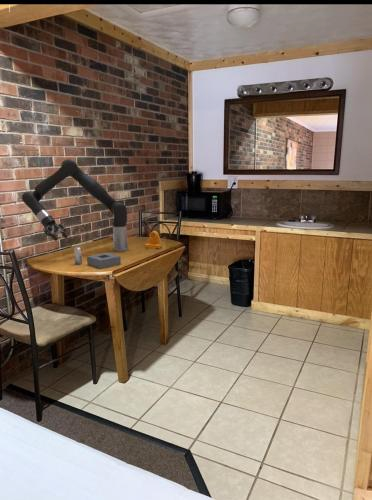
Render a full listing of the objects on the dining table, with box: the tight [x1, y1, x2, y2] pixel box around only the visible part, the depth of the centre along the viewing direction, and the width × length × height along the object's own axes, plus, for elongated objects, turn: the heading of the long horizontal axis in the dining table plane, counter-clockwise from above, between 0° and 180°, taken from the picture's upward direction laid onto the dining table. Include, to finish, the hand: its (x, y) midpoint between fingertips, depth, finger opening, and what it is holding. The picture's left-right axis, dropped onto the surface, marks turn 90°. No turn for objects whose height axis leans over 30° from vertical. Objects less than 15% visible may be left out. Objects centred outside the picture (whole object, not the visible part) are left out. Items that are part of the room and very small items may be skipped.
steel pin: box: [73, 246, 83, 266], centre depth 218 cm, size 4×4×10 cm
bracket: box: [144, 230, 163, 250], centre depth 264 cm, size 11×7×12 cm, turn 74°
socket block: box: [86, 252, 122, 270], centre depth 218 cm, size 14×14×5 cm
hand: (61, 238), depth 221 cm, fingers open, 8 cm apart
